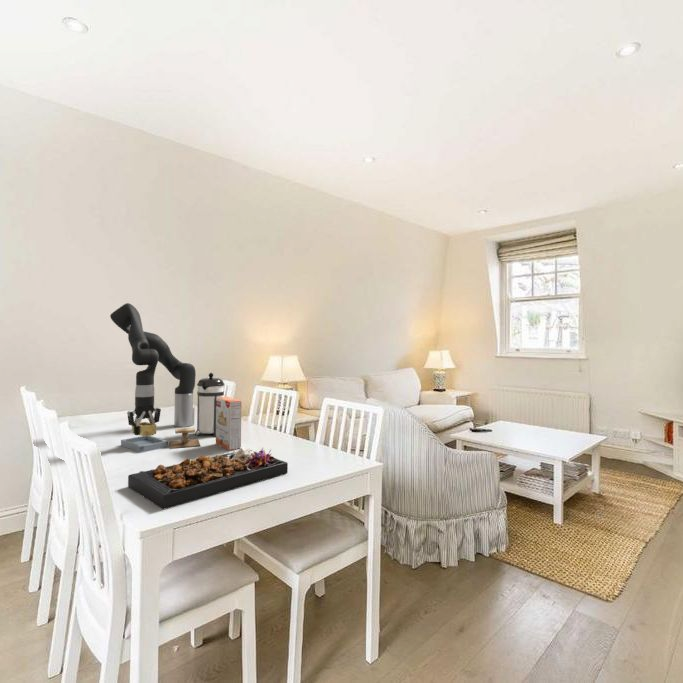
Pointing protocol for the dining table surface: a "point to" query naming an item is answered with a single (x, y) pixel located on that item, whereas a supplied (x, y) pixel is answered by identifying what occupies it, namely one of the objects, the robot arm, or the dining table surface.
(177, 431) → the brown piece
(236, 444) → the cracker box
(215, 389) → the coffee press
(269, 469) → the food platter
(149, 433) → the gold rectangular hollow block
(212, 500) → the dining table surface
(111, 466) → the dining table surface
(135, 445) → the tray
